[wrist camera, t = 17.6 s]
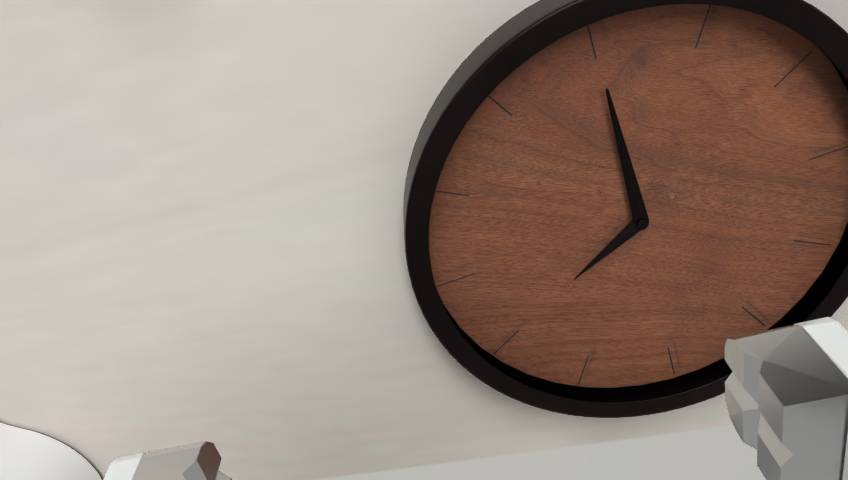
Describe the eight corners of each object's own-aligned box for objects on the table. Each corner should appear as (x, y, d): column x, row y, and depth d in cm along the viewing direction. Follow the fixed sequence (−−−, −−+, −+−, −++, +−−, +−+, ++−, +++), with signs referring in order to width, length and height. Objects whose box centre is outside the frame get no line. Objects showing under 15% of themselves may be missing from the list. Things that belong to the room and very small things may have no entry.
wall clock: (780, 435, 54) (376, 399, 50) (756, 400, 57) (376, 364, 54) (998, 21, 39) (450, -71, 36) (947, 8, 43) (445, -77, 39)
